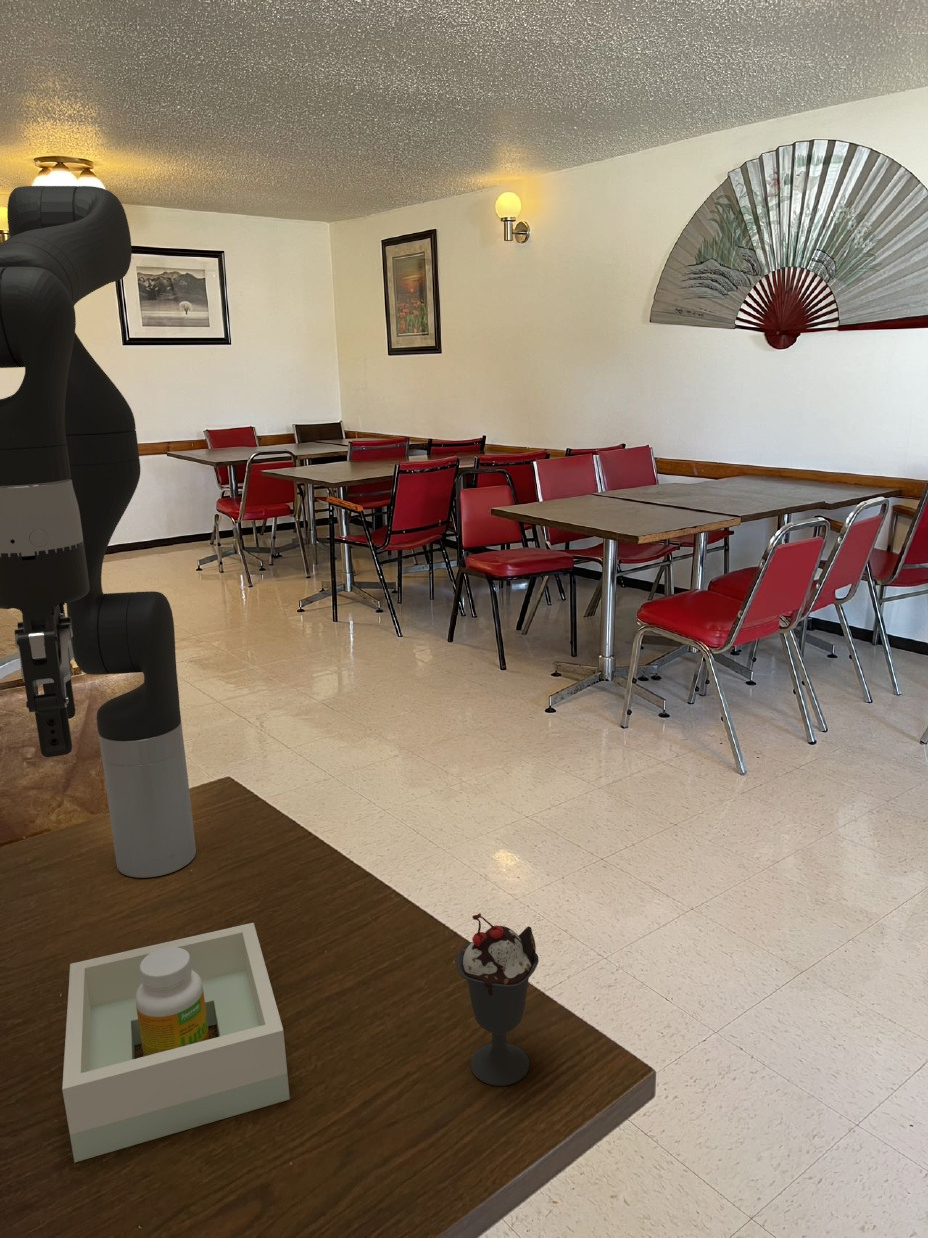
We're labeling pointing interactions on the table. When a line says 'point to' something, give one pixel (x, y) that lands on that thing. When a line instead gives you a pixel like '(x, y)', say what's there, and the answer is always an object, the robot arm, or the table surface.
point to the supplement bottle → (170, 1002)
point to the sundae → (498, 997)
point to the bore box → (178, 1078)
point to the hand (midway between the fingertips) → (60, 735)
